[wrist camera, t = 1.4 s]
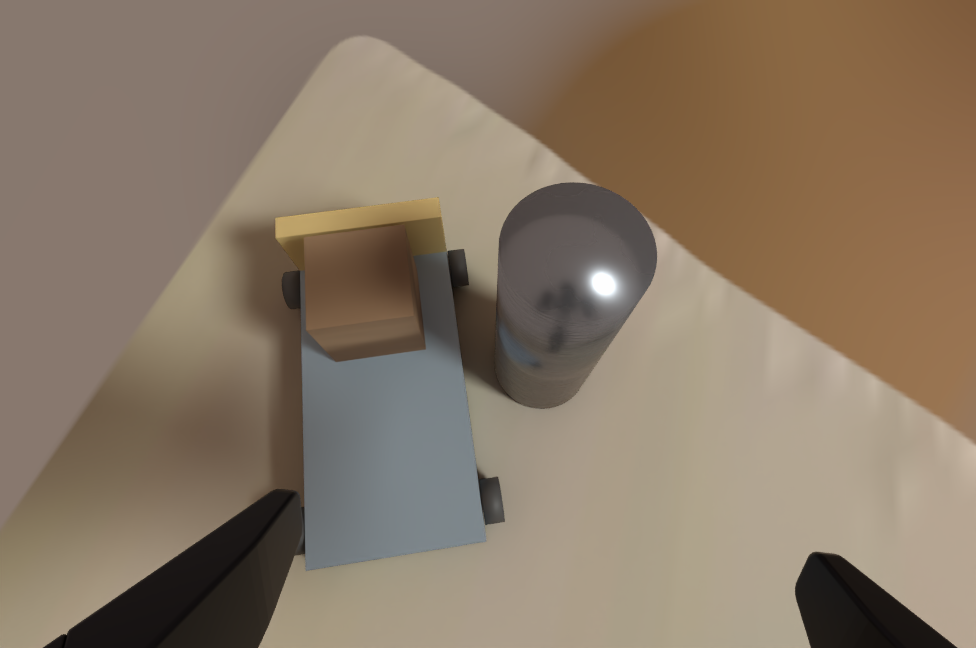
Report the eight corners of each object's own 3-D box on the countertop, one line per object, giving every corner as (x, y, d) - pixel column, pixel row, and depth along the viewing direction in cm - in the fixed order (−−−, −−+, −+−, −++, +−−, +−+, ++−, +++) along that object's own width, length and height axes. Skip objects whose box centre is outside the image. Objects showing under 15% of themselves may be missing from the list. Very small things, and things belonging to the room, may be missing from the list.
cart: (506, 536, 22) (510, 540, 17) (299, 570, 21) (249, 582, 17) (463, 249, 27) (458, 195, 22) (295, 271, 26) (255, 220, 22)
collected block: (425, 349, 23) (413, 315, 19) (336, 362, 23) (305, 330, 19) (417, 270, 24) (404, 224, 21) (332, 281, 24) (303, 237, 20)
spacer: (598, 339, 25) (674, 211, 15) (568, 423, 23) (630, 345, 13) (514, 307, 26) (531, 163, 15) (480, 387, 24) (473, 287, 14)
